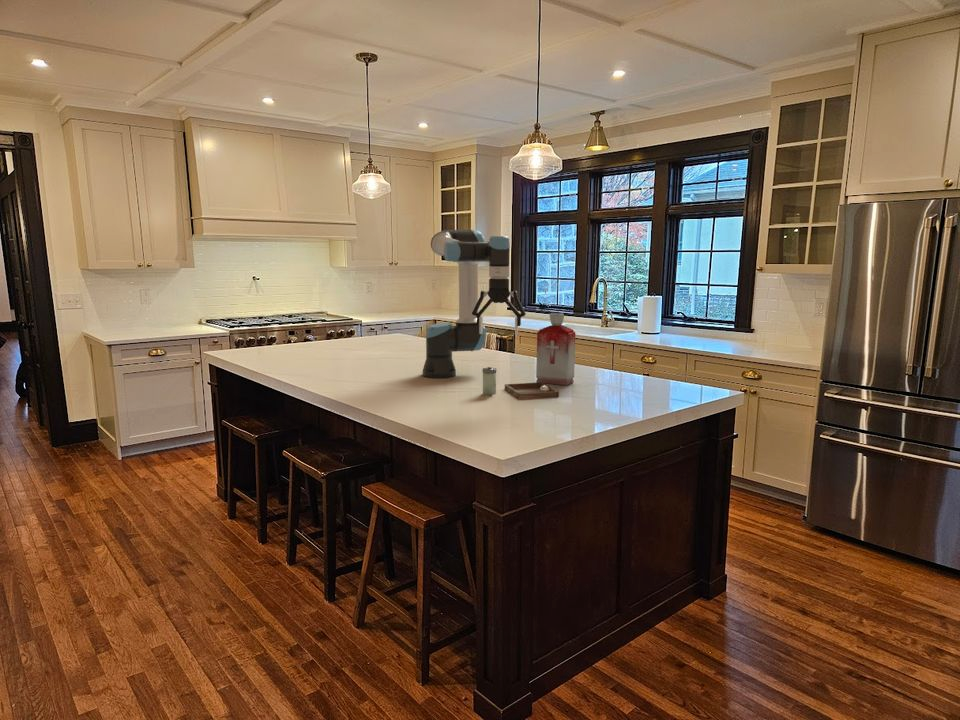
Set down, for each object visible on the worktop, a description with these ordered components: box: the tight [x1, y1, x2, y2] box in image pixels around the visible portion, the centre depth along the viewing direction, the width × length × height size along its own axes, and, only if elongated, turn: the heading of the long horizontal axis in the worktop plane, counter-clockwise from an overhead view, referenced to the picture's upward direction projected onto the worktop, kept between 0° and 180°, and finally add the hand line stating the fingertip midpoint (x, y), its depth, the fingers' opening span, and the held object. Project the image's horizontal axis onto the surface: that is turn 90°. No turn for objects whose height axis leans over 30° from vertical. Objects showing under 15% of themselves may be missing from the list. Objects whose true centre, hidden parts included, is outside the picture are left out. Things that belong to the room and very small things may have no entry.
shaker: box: [481, 366, 497, 397], centre depth 246 cm, size 6×6×11 cm
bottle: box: [535, 312, 576, 387], centre depth 264 cm, size 14×10×30 cm
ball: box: [540, 385, 549, 392], centre depth 244 cm, size 4×4×4 cm
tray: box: [504, 382, 560, 400], centre depth 247 cm, size 18×16×2 cm
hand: (498, 334), depth 237 cm, fingers open, 13 cm apart
